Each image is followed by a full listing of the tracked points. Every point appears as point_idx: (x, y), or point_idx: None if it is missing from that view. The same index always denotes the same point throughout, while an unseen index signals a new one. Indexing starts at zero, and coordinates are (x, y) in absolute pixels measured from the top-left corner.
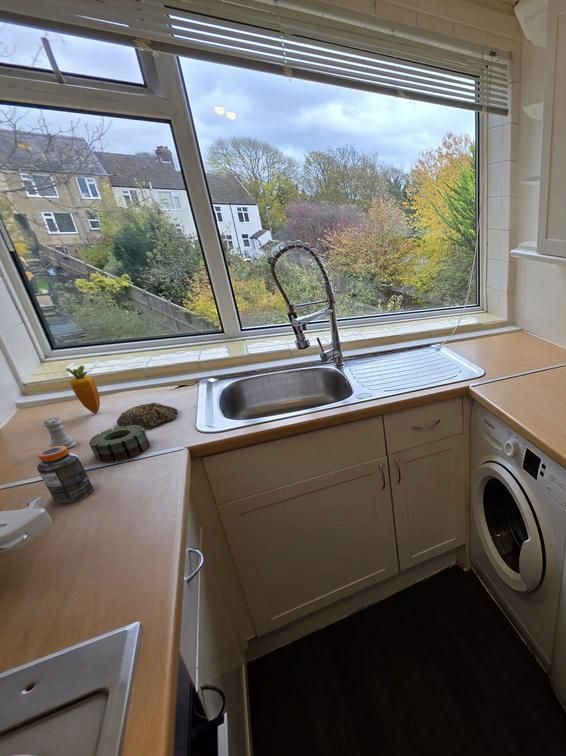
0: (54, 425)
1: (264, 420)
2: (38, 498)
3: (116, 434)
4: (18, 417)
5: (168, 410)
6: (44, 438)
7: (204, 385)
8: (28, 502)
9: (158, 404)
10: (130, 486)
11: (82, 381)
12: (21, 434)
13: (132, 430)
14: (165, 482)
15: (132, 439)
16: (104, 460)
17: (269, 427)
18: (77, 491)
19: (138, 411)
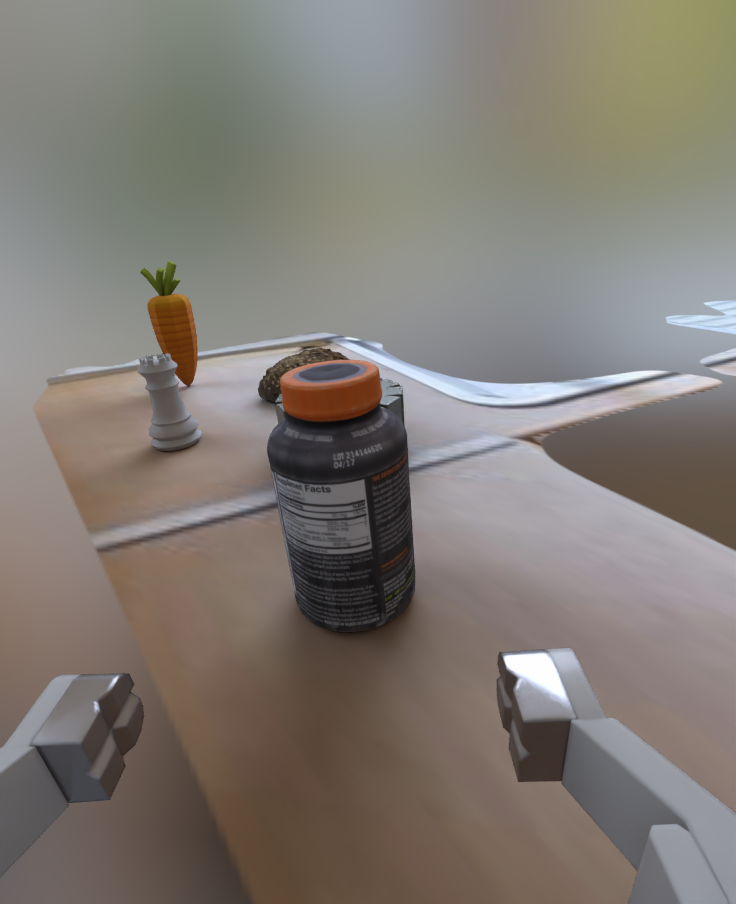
0: (165, 372)
1: (615, 381)
2: (569, 667)
3: None
4: (45, 396)
5: None
6: (117, 426)
7: (350, 344)
8: (544, 716)
9: (335, 352)
10: (534, 559)
11: (174, 300)
12: (64, 421)
13: None
14: (658, 545)
15: (398, 403)
16: None
17: (667, 392)
18: (404, 578)
19: (310, 361)
